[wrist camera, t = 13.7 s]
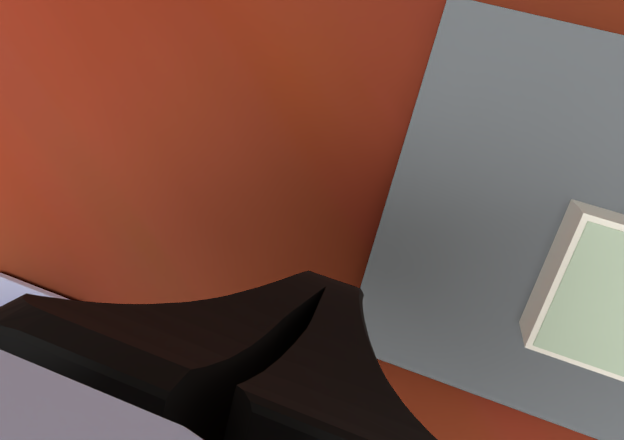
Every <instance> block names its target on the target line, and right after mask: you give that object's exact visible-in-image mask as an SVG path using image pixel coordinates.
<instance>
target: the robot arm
mask: <svg viewBox="0 0 624 440" xmlns="http://www.w3.org/2000/svg"><path fill="white" fill-rule="evenodd" d="M363 297H364V294H363V292H362V290H361V289H360V288H358V287H355V286H352V285H349V284H346V283H343V282H340V281H337V280H334V279H331V278H328V277H325V276H322V275H320V274H317V273H314V272H311V271H305V272H302V273H299V274H296V275H293V276H291V277H288V278H285V279H282V280H279V281H276V282H273V283H270V284H267V285H264V286H261V287H258V288H254V289H250V290H247V291H243V292H239V293H235V294H232V295H228V296H223V297H218V298H212V299H206V300H199V301H192V302H182V303H163V304H111V303H95V302H84V301H76V300H70V299H67V298H65V297H62V296H60V295H57V294H55V293H52V292H49V291H47V290H44V289H42V288H39V287H36V286H34V285H31V284H29V283H26V282H24V281H21V280H18V279H16V278H13V277H11V276H8V275H5V274H3V273H0V440H437V439H436V438H435V437H434V436H433V435H432V434H431V433H430V432H429V431H428V430H427V429H426V428H425V427H424V426H423V425H422V424H421V423H420V422H419V421H418V420H417V419H416V418H415V416H414V415H413V414H412V413H411V412H410V411H409V409H408V408H407V407H406V406H405V405H404V403H403V402H402V401H401V399H400V398H399V396H398V395H397V394H396V392H395V391H394V389H393V388H392V387H391V385H390V384H389V382H388V380H387V379H386V377H385V375H384V373H383V371H382V369H381V367H380V365H379V363H378V361H377V358H376V356H375V353H374V351H373V348H372V345H371V342H370V339H369V336H368V332H367V328H366V323H365V319H364V313H363Z"/></svg>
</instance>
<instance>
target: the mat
mask: <svg viewBox="0 0 624 440" xmlns="http://www.w3.org/2000/svg"><path fill="white" fill-rule="evenodd" d="M571 199H573V200H576V201H580V202H583V203H587V204H590V205H594V206H597V207H600V208H604V209H607V210H611V211H614V212H618V213H621V214H624V35H620V34H616V33H611V32H607V31H603V30H598V29H594V28H590V27H585V26H581V25H577V24H572V23H568V22H564V21H559V20H555V19H551V18H546V17H542V16H538V15H533V14H529V13H524V12H520V11H516V10H511V9H507V8H503V7H498V6H494V5H490V4H485V3H481V2H477V1H472V0H447V1H446V5H445V8H444V11H443V15H442V18H441V21H440V25H439V28H438V31H437V35H436V38H435V41H434V45H433V48H432V51H431V55H430V58H429V61H428V64H427V68H426V71H425V74H424V78H423V81H422V84H421V88H420V91H419V94H418V98H417V101H416V104H415V108H414V111H413V114H412V118H411V121H410V124H409V128H408V131H407V134H406V138H405V141H404V144H403V147H402V151H401V154H400V157H399V161H398V164H397V167H396V171H395V174H394V177H393V181H392V184H391V187H390V191H389V194H388V197H387V201H386V204H385V207H384V211H383V214H382V217H381V220H380V224H379V227H378V230H377V234H376V237H375V240H374V244H373V247H372V250H371V254H370V257H369V260H368V264H367V267H366V270H365V274H364V277H363V280H362V284H361V287H360V289H361V290H362V292H363V294H364V297H363V313H364V319H365V323H366V328H367V332H368V336H369V339H370V342H371V345H372V348H373V351H374V353H375V356H376V358H377V359H379V360H382V361H385V362H388V363H390V364H393V365H396V366H399V367H401V368H404V369H407V370H410V371H412V372H415V373H418V374H420V375H423V376H426V377H429V378H431V379H434V380H437V381H440V382H442V383H445V384H448V385H451V386H453V387H456V388H459V389H461V390H464V391H467V392H470V393H472V394H475V395H478V396H481V397H483V398H486V399H489V400H492V401H494V402H497V403H500V404H502V405H505V406H508V407H511V408H513V409H516V410H519V411H522V412H524V413H527V414H530V415H533V416H535V417H538V418H541V419H544V420H546V421H549V422H552V423H554V424H557V425H560V426H563V427H565V428H568V429H571V430H574V431H576V432H579V433H582V434H585V435H587V436H590V437H593V438H595V439H598V440H624V382H623V381H620V380H617V379H614V378H611V377H609V376H606V375H603V374H600V373H597V372H594V371H591V370H588V369H585V368H583V367H580V366H577V365H574V364H571V363H568V362H565V361H562V360H560V359H557V358H554V357H551V356H548V355H545V354H542V353H539V352H536V351H534V350H531V349H528V348H525V346H524V342H523V338H522V333H521V329H520V324H519V321H520V318H521V316H522V314H523V311H524V309H525V307H526V304H527V302H528V299H529V297H530V295H531V292H532V290H533V288H534V285H535V283H536V281H537V278H538V276H539V274H540V271H541V269H542V267H543V264H544V262H545V259H546V257H547V255H548V252H549V250H550V248H551V245H552V243H553V241H554V238H555V236H556V234H557V231H558V229H559V227H560V224H561V222H562V220H563V217H564V215H565V212H566V210H567V208H568V205H569V203H570V201H571Z"/></svg>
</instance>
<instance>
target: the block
mask: <svg viewBox="0 0 624 440" xmlns="http://www.w3.org/2000/svg"><path fill="white" fill-rule="evenodd" d="M519 324H520V329H521V333H522V338H523V342H524V346H525V348H528V349H531V350H534V351H536V352H539V353H542V354H545V355H548V356H551V357H554V358H557V359H560V360H562V361H565V362H568V363H571V364H574V365H577V366H580V367H583V368H585V369H588V370H591V371H594V372H597V373H600V374H603V375H606V376H609V377H611V378H614V379H617V380H620V381H623V382H624V214H621V213H618V212H614V211H611V210H607V209H604V208H600V207H597V206H594V205H590V204H587V203H583V202H580V201H576V200H573V199H571V201H570V203H569V205H568V208H567V210H566V212H565V215H564V217H563V220H562V222H561V224H560V227H559V229H558V231H557V234H556V236H555V238H554V241H553V243H552V245H551V248H550V250H549V252H548V255H547V257H546V259H545V262H544V264H543V267H542V269H541V271H540V274H539V276H538V278H537V281H536V283H535V285H534V288H533V290H532V292H531V295H530V297H529V299H528V302H527V304H526V307H525V309H524V311H523V314H522V316H521V318H520V321H519Z"/></svg>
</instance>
